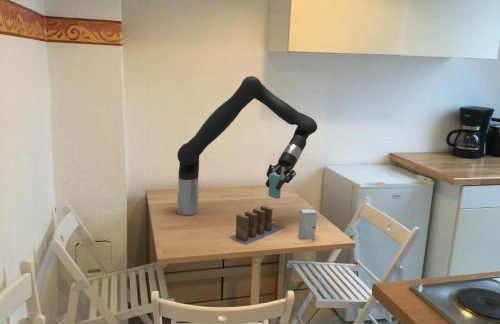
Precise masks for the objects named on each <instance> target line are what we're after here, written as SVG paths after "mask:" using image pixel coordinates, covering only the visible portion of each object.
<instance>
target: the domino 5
mask: <svg viewBox="0 0 500 324" xmlns="http://www.w3.org/2000/svg"><path fill="white" fill-rule="evenodd" d="M280 179H281V175H277V174H276V173H275V174H273V173H272V174H269V187H268V197H269V198H273V199H277V200H278V199H281V193H282V192H281V189H282V188H281V189H279V190H277V189H276V185H277V184H278V182H279V181H280Z"/></svg>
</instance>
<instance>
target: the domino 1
mask: <svg viewBox="0 0 500 324" xmlns="http://www.w3.org/2000/svg"><path fill="white" fill-rule="evenodd" d="M235 220H236V221H235V226H236V227H235V235H236V238H237V239H239V240H242V241H244V242H245V241H248V228H249V217H247V216H245V214H241V213H238V214H236V218H235Z"/></svg>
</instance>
